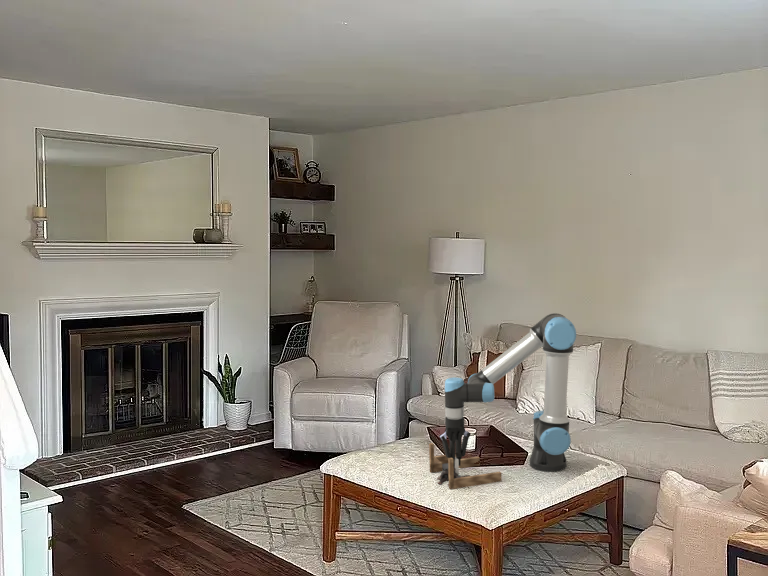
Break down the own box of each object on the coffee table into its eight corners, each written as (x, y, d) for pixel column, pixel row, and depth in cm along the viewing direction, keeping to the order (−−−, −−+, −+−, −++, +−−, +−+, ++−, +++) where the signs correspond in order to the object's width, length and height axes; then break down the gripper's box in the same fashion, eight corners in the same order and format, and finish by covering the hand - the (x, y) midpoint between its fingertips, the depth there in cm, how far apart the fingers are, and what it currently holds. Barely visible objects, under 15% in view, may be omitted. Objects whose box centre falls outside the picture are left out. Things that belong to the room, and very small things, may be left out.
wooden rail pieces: (470, 459, 332) (470, 431, 331) (501, 481, 306) (501, 451, 304) (422, 466, 325) (422, 438, 324) (450, 489, 298) (449, 459, 297)
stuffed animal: (429, 481, 305) (442, 457, 313) (437, 496, 311) (450, 472, 318) (455, 486, 298) (467, 462, 306) (463, 502, 304) (475, 477, 311)
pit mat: (452, 463, 328) (452, 462, 328) (458, 467, 322) (458, 467, 322) (436, 465, 326) (436, 464, 325) (442, 470, 319) (442, 469, 319)
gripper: (465, 412, 313) (466, 468, 316) (435, 416, 309) (437, 473, 312) (473, 417, 306) (474, 474, 309) (443, 421, 302) (444, 479, 305)
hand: (455, 474), depth 310 cm, fingers closed
